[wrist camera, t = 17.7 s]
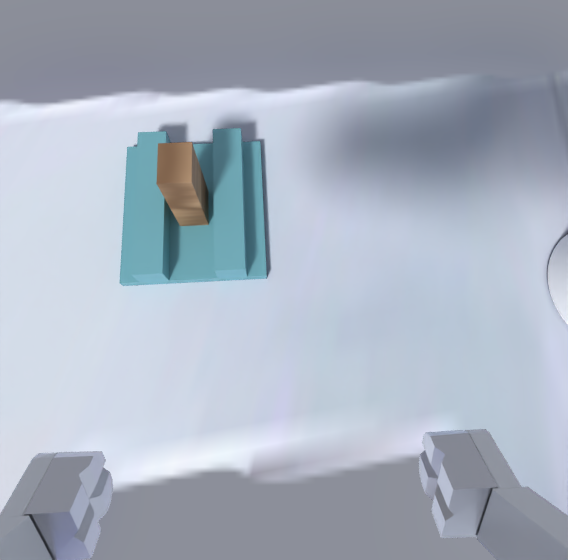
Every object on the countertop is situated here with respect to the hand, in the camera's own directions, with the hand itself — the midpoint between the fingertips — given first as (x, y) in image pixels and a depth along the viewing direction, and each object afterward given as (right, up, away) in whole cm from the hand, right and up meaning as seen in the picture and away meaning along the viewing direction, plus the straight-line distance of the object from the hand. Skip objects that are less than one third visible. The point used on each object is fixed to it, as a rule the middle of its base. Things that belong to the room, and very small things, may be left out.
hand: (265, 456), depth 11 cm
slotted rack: (-9, +12, +36) cm, 39 cm away
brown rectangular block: (-9, +12, +35) cm, 38 cm away
